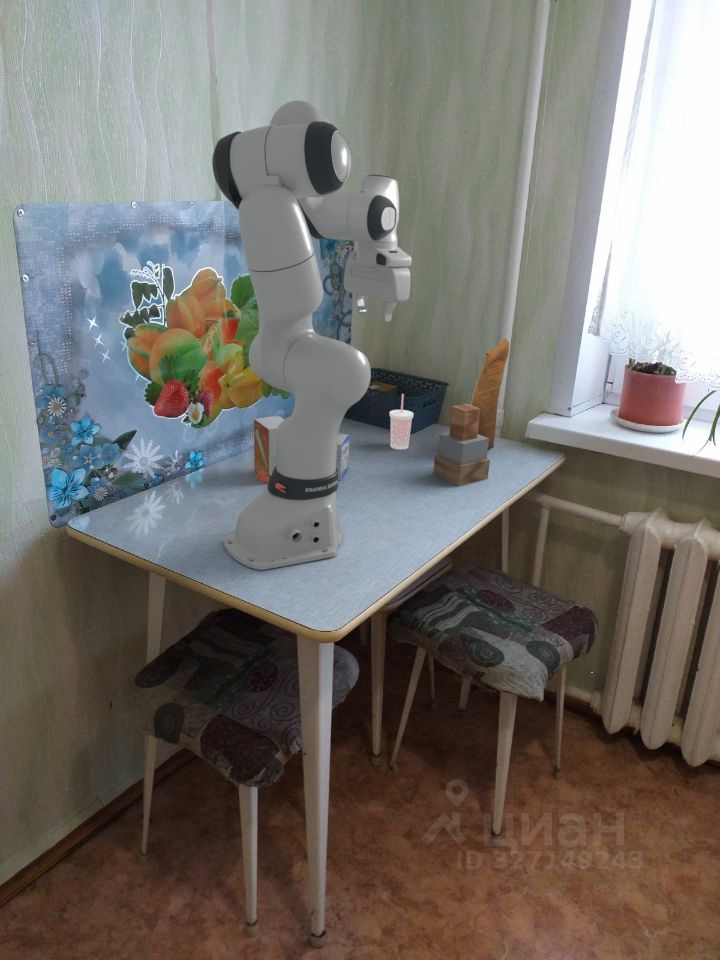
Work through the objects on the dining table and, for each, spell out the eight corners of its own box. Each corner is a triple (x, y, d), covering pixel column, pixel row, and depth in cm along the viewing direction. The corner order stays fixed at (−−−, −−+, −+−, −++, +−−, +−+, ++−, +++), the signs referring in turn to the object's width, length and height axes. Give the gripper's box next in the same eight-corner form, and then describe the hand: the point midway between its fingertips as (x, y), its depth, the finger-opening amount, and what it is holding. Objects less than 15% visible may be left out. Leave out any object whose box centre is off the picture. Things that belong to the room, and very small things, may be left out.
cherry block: (462, 440, 172) (465, 411, 169) (449, 435, 175) (452, 406, 173) (477, 437, 174) (480, 408, 172) (463, 432, 178) (466, 403, 175)
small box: (253, 472, 175) (253, 418, 170) (278, 468, 178) (279, 415, 173) (268, 484, 168) (268, 428, 164) (294, 480, 172) (294, 425, 167)
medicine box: (341, 481, 172) (342, 445, 169) (321, 478, 173) (322, 443, 170) (348, 469, 179) (349, 434, 176) (330, 466, 180) (331, 432, 177)
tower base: (458, 487, 173) (460, 466, 171) (433, 474, 179) (434, 454, 177) (487, 479, 177) (489, 459, 176) (461, 467, 184) (463, 448, 182)
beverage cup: (385, 442, 198) (388, 390, 192) (408, 442, 199) (411, 390, 194) (390, 450, 192) (393, 397, 187) (413, 450, 193) (417, 397, 188)
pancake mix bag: (506, 444, 201) (519, 338, 190) (475, 464, 186) (487, 351, 175) (483, 438, 204) (494, 334, 194) (451, 458, 189) (461, 346, 179)
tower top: (461, 465, 172) (463, 444, 170) (437, 454, 178) (439, 434, 176) (486, 458, 176) (488, 438, 174) (462, 448, 182) (464, 428, 180)
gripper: (338, 249, 174) (336, 310, 179) (393, 259, 159) (389, 326, 164) (360, 249, 177) (357, 308, 183) (416, 259, 162) (412, 324, 167)
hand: (373, 317), depth 173 cm, fingers open, 8 cm apart
